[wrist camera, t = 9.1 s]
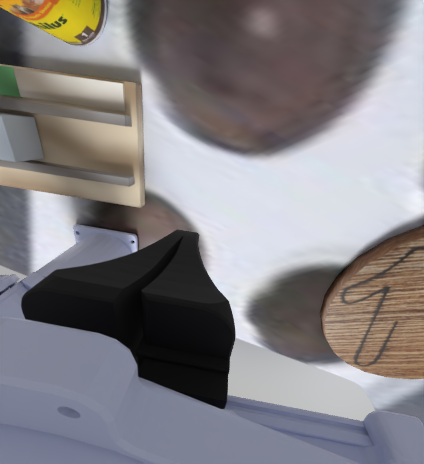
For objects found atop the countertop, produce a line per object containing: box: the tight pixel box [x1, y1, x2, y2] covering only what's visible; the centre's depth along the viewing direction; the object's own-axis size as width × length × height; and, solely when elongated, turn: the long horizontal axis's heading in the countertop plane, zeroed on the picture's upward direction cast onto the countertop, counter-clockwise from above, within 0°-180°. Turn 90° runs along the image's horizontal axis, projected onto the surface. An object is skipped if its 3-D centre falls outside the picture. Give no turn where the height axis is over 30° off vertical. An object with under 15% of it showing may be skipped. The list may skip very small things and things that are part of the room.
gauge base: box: [0, 64, 145, 208], centre depth 18 cm, size 11×20×4 cm, turn 83°
